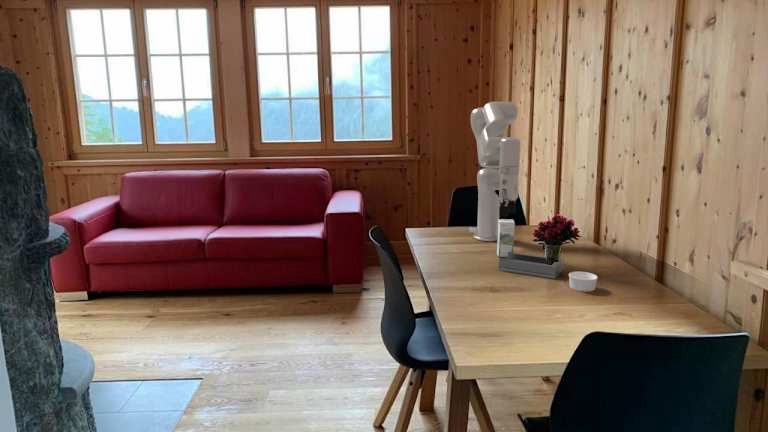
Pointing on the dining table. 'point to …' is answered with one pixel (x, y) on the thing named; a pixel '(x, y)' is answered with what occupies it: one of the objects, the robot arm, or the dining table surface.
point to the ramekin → (582, 281)
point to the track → (530, 265)
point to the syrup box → (505, 237)
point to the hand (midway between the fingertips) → (507, 214)
